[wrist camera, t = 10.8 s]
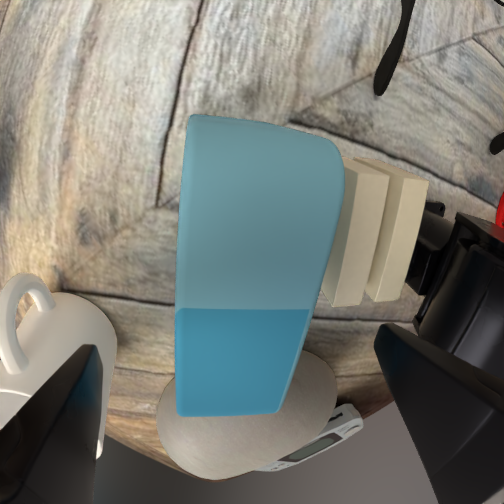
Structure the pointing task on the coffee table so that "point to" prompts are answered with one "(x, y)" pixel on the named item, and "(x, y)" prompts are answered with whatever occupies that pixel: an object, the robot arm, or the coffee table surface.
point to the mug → (48, 342)
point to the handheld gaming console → (323, 437)
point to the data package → (249, 260)
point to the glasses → (393, 55)
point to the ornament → (500, 213)
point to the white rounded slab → (249, 426)
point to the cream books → (374, 232)
